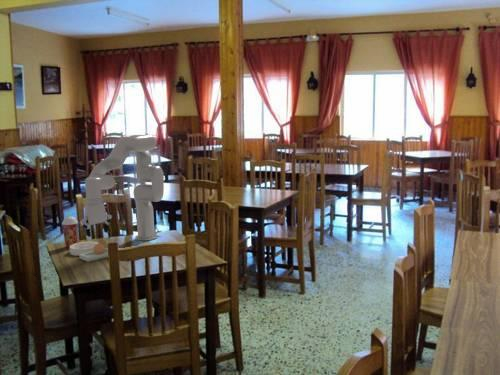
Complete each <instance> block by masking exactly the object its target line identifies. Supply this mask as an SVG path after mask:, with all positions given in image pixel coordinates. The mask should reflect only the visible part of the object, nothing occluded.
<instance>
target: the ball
mask: <svg viewBox="0 0 500 375" xmlns="http://www.w3.org/2000/svg"><path fill="white" fill-rule="evenodd" d="M97 243H98V244H96V245H95V246H94V248H93V251H94V253H95V254H97V255H99V254H103V253H104V252H105V248H106V246H105V244H103V243H100V242H97Z"/></svg>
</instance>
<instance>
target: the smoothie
mask: <svg viewBox="0 0 500 375" xmlns="http://www.w3.org/2000/svg"><path fill="white" fill-rule="evenodd" d="M61 226H62V233H63V237H64V238H63V239H64V245H65V247H66V248H67V249H70V245H72V244H75V243H79V221H78V220H77V218H76V217H75V216H72V215H71V212H70V210H69V211H68V216H65V217H64V219H63V220H62V223H61Z"/></svg>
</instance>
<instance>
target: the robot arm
mask: <svg viewBox="0 0 500 375" xmlns="http://www.w3.org/2000/svg"><path fill="white" fill-rule="evenodd" d="M156 145H157V140H156V138H155V136H153V135H150V134H134V135H133V134H132V135H129V136H121V137H119V139H117V141H116V143H115V145H114V147H113V148H112V150H111V152H110V153H109V155H108V156H107V157H105V158H103V159H102V161H100V162H99V163H97V164H96V165H95V166H94V167H93V169H92V170H91V172H90V174H89V176H88V177H86V178H85V179H84V186H85V197H86V204H85V207H84V217H83V218H82V219H80V221H79V224H80V225H81V226H82V228H83V229H85V235H86V236H87V237H89V238H90V237H91V236H92V234H91V229H90V228H91V227H92V225H96V224H97V225H98V224H103V226H102V227H103V232H104V233H107V234H108V233H109V225H110V222H111V220H112V218H113V216H112V215H113V214H110V213H107V212H106V207H105V206H106V205H105V204H104V201H105V198H104V197H103V194H102V191H103V190H104V191H105V190H110V189H113V188H114V187H115V185H116V179H115V177H114V176H112V175H110V174H107V173H109V172H110V171H112V170H115V169H118V168H121V167H122V166H123V165H124V163H125V161H126V160H127V158H128V157H129V155H130V153H133V154H134V155H135V158H136V160H135V161H136V164H135V165H136V169H135V171H136V174H135V175H136V176H135V177H136V179H137V181H139V182H142V183H140V184H137V185H136V186H134V189H133V198H134V201H135V207H136V225H137V226H136V228H137V234H136V236H135V240H137V241H152V240H155V239H158V235H157V234H159V233H162V229H161V228H159V229H156V228H155V217H154V207H153V203H152V202H155V203H156V202H161V200H162V199H163V197H164V190H165V188H164V186H165V185H164V183H165V181H164V180H165V178H164V177H165V175H164V174H165V173H164V170H163V169H162V167H161V166H159V165H152V155H151V153H150V151H153V150H154V149H155V148H156ZM143 182H144V183H145V184H144V183H143ZM146 183H151V184H146Z"/></svg>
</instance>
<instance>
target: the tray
mask: <svg viewBox="0 0 500 375" xmlns="http://www.w3.org/2000/svg"><path fill="white" fill-rule="evenodd" d="M108 248H109V247H105V252H104V253H103V254H99V255H97V254H95V253H94V251H92V252H87V253H83V254H79V259H81V260H82V261H85V262H88V263H89V262H94V261H97V260H98V261H99V260H102V259H105V258H106V259H107V258H109V257H108Z"/></svg>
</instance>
